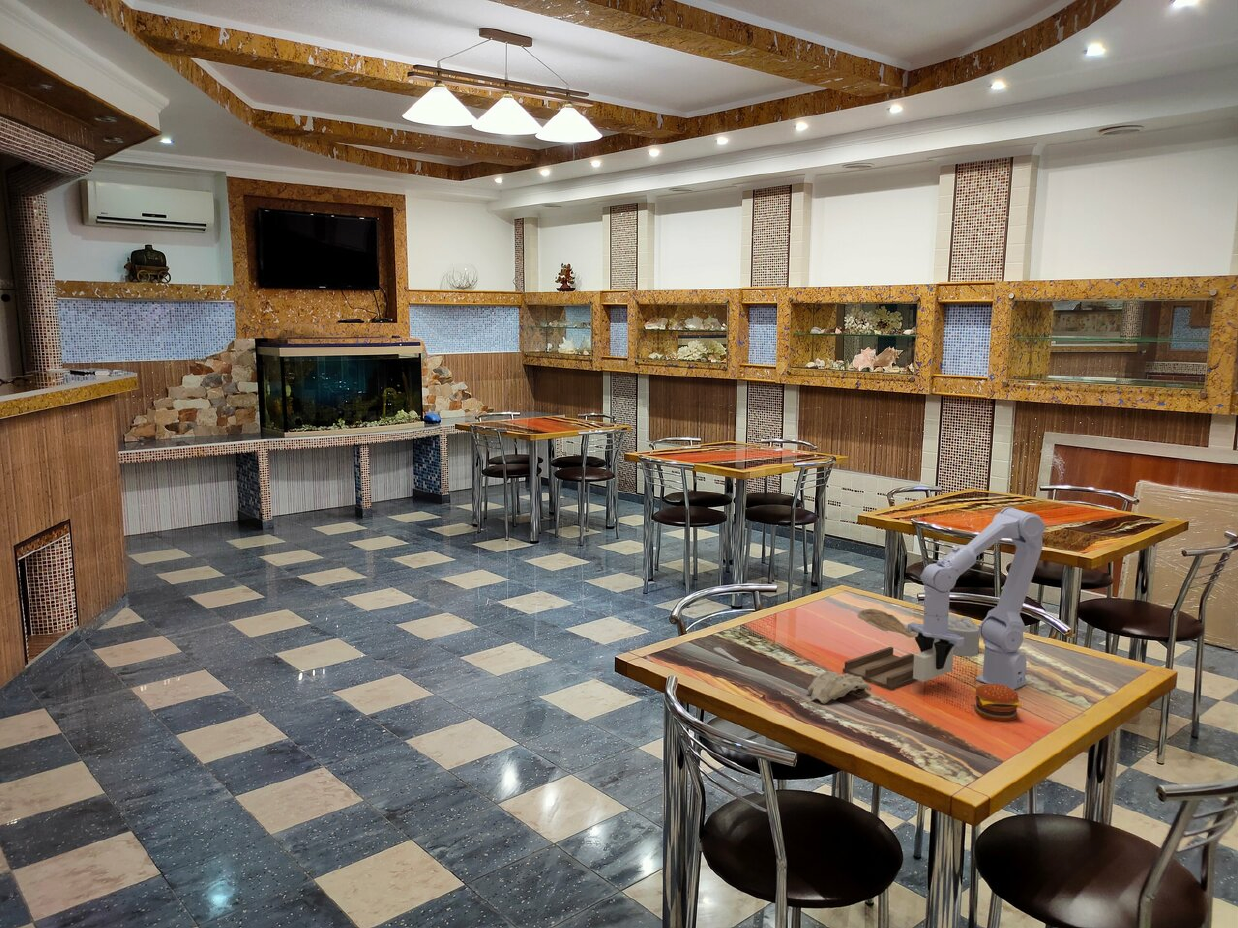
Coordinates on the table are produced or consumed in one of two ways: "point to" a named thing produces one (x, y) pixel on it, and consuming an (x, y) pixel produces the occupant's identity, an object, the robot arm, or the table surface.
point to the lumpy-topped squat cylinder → (964, 635)
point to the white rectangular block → (930, 665)
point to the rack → (883, 668)
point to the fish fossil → (883, 621)
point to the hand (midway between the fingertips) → (933, 666)
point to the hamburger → (996, 702)
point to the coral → (834, 685)
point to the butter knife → (725, 653)
